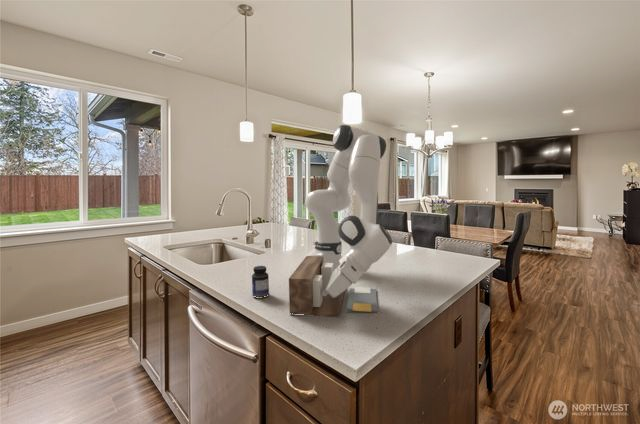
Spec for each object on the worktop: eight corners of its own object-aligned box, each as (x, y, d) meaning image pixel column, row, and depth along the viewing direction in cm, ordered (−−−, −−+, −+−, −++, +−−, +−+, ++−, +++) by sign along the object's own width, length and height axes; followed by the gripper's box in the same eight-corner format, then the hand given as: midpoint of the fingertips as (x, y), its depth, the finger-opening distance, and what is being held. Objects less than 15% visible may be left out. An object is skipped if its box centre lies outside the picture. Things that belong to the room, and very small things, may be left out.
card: (375, 289, 119) (375, 287, 119) (377, 313, 97) (377, 311, 97) (349, 288, 120) (349, 286, 120) (346, 312, 99) (346, 309, 99)
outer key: (322, 300, 106) (322, 275, 105) (320, 307, 100) (319, 280, 99) (311, 299, 106) (310, 274, 106) (308, 306, 101) (307, 280, 100)
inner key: (333, 285, 121) (333, 263, 120) (331, 290, 115) (331, 267, 114) (323, 284, 122) (323, 262, 121) (321, 290, 116) (321, 267, 115)
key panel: (345, 285, 125) (345, 256, 123) (339, 317, 95) (338, 280, 94) (307, 283, 127) (306, 255, 126) (289, 314, 98) (288, 278, 96)
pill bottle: (253, 293, 117) (252, 265, 116) (269, 292, 118) (268, 264, 117) (251, 299, 111) (250, 270, 110) (268, 298, 112) (267, 269, 111)
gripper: (347, 252, 110) (321, 277, 113) (342, 267, 90) (311, 298, 93) (359, 264, 110) (333, 289, 113) (358, 282, 90) (325, 312, 92)
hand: (323, 293), depth 102 cm, fingers closed, pressing on outer key
